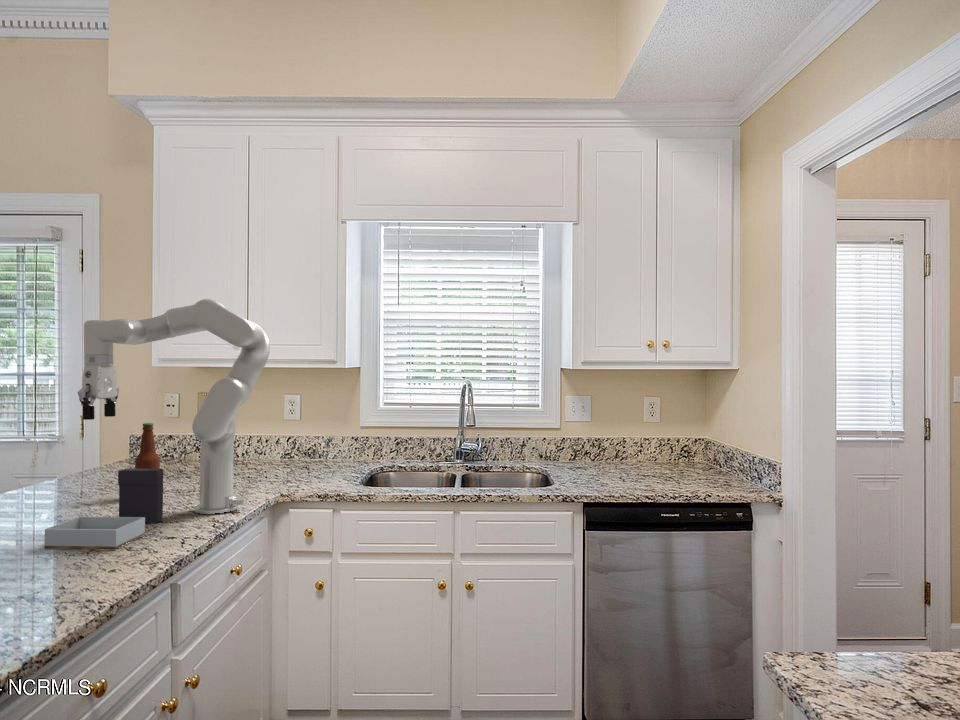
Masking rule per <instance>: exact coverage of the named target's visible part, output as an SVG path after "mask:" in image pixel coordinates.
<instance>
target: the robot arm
mask: <svg viewBox="0 0 960 720" xmlns="http://www.w3.org/2000/svg"><path fill="white" fill-rule="evenodd" d="M205 331H207V332H209V333H211V334H212V335H214V336H216V337H218V338H220V339H222V340H223V341H224V342H227V343H229V345H233V346H235V347H238V348H241V351H240V353H239V355H238V356H237V358H236V359H235V361H234V363H233V365H232V367H231V368H230V370H229V372H228V373H227V375H226V376H225V377H223V378H221V379H218V380H217V381H216V382H215V383H214V384H213V385H212V386H211V388H210V389H209V390H208V392H207V394H206V396H205V398H204V400H203V401H202V404H201V405H200V407H199V409H198V411H197V412H196V414H195V416H194V418H193V421H192V424H191V425H192V426H191V427H192V428H191V429H192V433H193V435H194V436H195V437H196V438H197V439H198V440H200V441H201V443H200V451H199V452H200V454H199V455H200V456H199V504H198V505H194V507H193V512H194V513H196V514H199V513H200V515H216V514H215V513H220V514H225V513H224V512H227V513H231V512H233V511H237V510H238V508H239V506H245V505H246V502H247V501H246V498H245V497H237V493H236V492H235V493H234V456H235V455H234V453H235V451H234V449H235V436H236V435H235V434H236V419H235V415H236V412H237V411H238V409H239V408H240V407H241V406H243V405H244V404H245V403H246V402H247V401H248V399H249V397H250V396H251V394H252V391H253V389H254V387H255V385H256V384H257V382H258V381H259V378H260V376H261V373H262V372H263V370H264V368H265V366H266V365H267V362H268V359H269V357H270V353H271V352H270V351H271V347H270V346H271V345H270V339H269V338H268V335H267V334H266V332H265V331H264V329H263V328H262V327H261V326H260V325H259V324H257V322H254V321H252V320H248V319H245V318H244V317H242V316H240V315H238V314H237V313H234V312H232V310H229V309H227V308H226V307H225V304H222V303H221V302H219V301H216V300H213V299H210V298H206V299H200V300H198V301H197V302H196V303H194V304H191V305H184V306H180V307H179V306H178V307H174V308H170V309H167V310H166V311H165V312H164V313H163V314H161V315H157V316H154V317H153V316H152V317H149V318H144V319H138V320H133V319H125V318H119V319H117V318H116V319H109V320H104V319H89V320H86V321H85V322H84V324H83V370H82V371H83V373H82V380H81V381H82V383H81V385H82V386H81V387H82V388H80V389H79V390H77V396H78V398H79V399H78V400H79V402H80V403H81V404H80V405H81V407H82V419H83V420H86V421H87V420H89V421H92V420H95V417H96V416H95V405H94V403H95V401H96V399H97V400H102V399H103V400H104V402H105V403H104V404H103V407H104V408H103V409H104V417H107V418H108V417H110V418H111V417H116V414H117V413H116V404H117V402H118V401H117V399H118V397H119V392H120V388H119V387H118V379H117V373H116V368H115V365H114V344H118V345H119V344H120V345H135V346H136V345H141V344H142V345H143V344H147V343H153V342H157V341H162V340H165V339H166V340H167V339H170V338H176V337H180V336H186V335H190V334H194V333H199V332H205ZM230 511H231V512H230Z"/></svg>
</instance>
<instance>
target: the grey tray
mask: <svg viewBox="0 0 960 720" xmlns="http://www.w3.org/2000/svg"><path fill="white" fill-rule="evenodd" d="M143 533H145V534H146V523H145V517H119V516H87V515H85V516H82V515H81V516H77V517H74V518H71V519H68V520H66V521H63V522H60V523H57V524H55V525H53V526H49V527H46V528H44V547H45V546H102V547H116V546H118V545H121V544H123V543H125V542H127V541H129V540H131V539H133V538H135V537H137V536H139V535H141V534H143Z"/></svg>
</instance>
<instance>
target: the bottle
mask: <svg viewBox="0 0 960 720" xmlns="http://www.w3.org/2000/svg"><path fill="white" fill-rule="evenodd" d="M139 448H140V449H139V450H140V451H139V453H138V455H137V456H136V458H135V461H134V469H161V463H160V462H161V461H160V460H161V459H160V456H159V455H158V454H157V452H156V441H155V435H154V423H153V422H144V423H142V434H141V439H140V447H139Z"/></svg>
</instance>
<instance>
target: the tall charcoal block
mask: <svg viewBox="0 0 960 720" xmlns="http://www.w3.org/2000/svg"><path fill="white" fill-rule="evenodd" d="M117 479H118V480H117V484H118V517H145V522H148V523H147V524H150V523H149V522H158V523H160V522H161V520H162V521H163V520H164V519H163V518H164V517H163V516H164V514H163V513H164V511H163V510H164V509H163V508H164V505H163V503H164V469H163V468H160V469H135V468H124V469H120V470H118V472H117ZM159 521H160V522H159Z"/></svg>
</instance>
